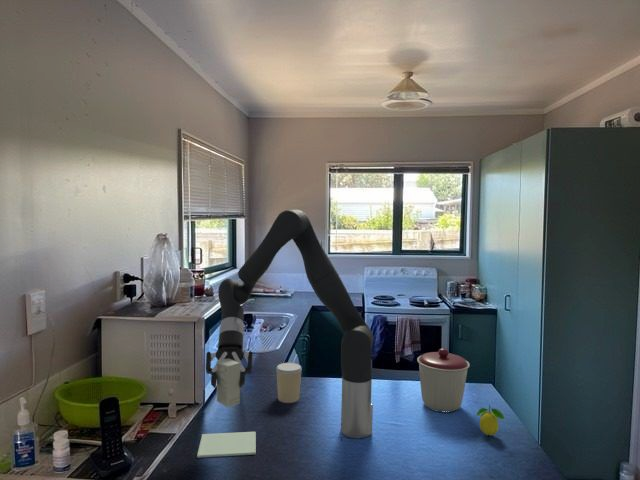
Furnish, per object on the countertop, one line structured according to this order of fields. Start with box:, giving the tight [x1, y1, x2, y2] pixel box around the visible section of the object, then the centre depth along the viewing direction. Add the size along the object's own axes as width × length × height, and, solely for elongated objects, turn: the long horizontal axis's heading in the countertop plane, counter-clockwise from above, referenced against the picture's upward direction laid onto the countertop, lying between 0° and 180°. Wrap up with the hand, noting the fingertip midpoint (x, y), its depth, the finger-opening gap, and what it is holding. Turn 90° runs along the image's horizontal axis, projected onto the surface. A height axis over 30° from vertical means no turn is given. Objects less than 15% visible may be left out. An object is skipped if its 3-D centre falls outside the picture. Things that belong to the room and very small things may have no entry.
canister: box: [416, 347, 471, 413], centre depth 158 cm, size 18×18×21 cm
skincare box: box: [216, 359, 241, 408], centre depth 129 cm, size 6×4×12 cm
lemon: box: [476, 404, 505, 436], centre depth 137 cm, size 7×6×10 cm
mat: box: [196, 431, 257, 459], centre depth 129 cm, size 16×12×1 cm
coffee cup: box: [275, 362, 303, 404], centre depth 162 cm, size 9×9×12 cm
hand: (227, 386), depth 128 cm, fingers closed on skincare box, 7 cm apart
